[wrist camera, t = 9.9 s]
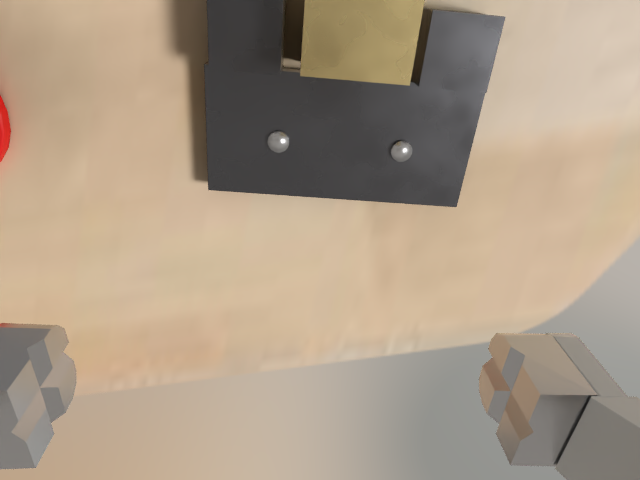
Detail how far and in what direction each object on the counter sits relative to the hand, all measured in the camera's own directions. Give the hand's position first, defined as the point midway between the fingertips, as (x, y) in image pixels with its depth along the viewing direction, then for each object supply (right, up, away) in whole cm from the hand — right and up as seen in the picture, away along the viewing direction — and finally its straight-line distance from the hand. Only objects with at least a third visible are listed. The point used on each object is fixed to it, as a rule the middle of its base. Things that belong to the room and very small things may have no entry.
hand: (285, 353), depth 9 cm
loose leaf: (+2, +15, +14) cm, 21 cm away
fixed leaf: (+2, +10, +17) cm, 20 cm away
